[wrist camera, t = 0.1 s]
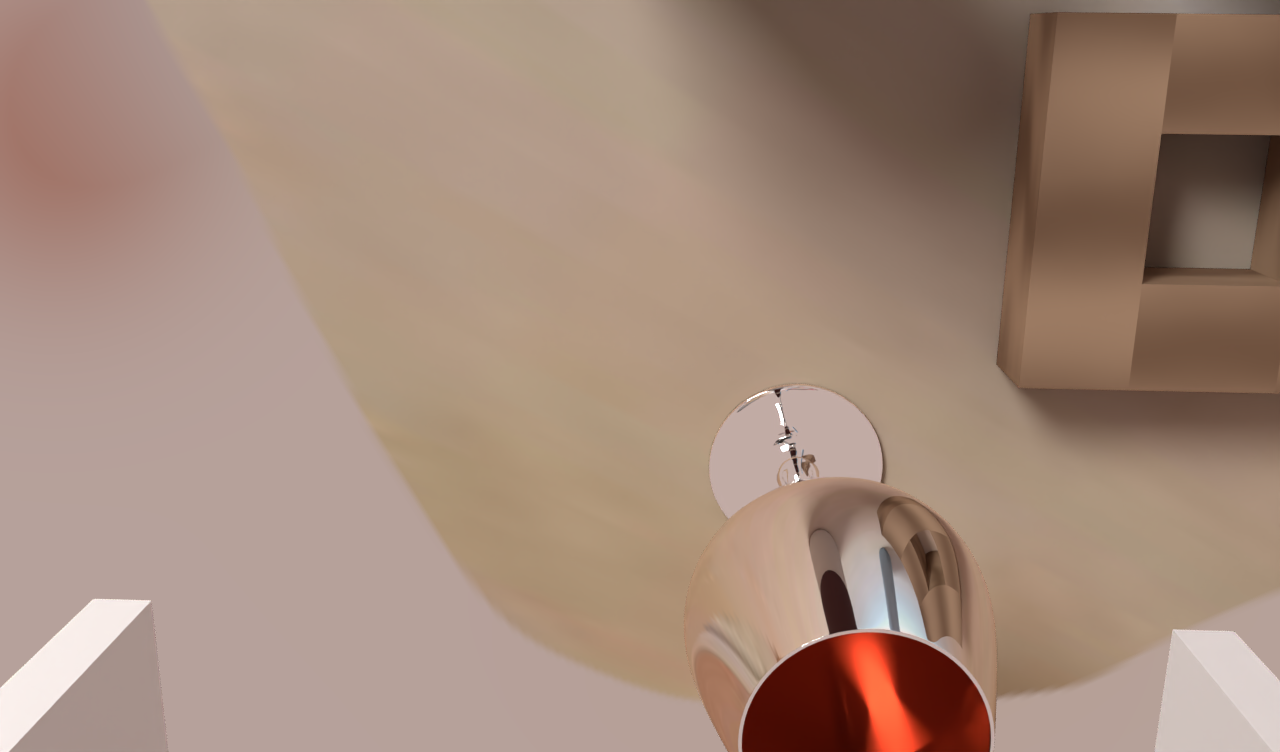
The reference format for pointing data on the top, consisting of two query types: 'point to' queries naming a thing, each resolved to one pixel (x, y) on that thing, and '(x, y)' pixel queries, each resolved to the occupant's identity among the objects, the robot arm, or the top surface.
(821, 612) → the wineglass
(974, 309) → the top surface
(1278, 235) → the hole block
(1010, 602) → the top surface
